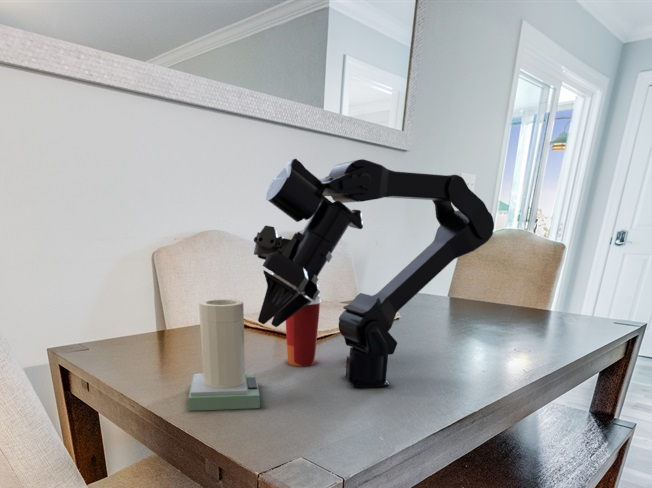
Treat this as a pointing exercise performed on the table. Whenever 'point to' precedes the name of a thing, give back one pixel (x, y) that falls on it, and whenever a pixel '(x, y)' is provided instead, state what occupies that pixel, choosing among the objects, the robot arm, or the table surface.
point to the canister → (222, 342)
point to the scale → (223, 395)
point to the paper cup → (303, 334)
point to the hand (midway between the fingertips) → (267, 324)
